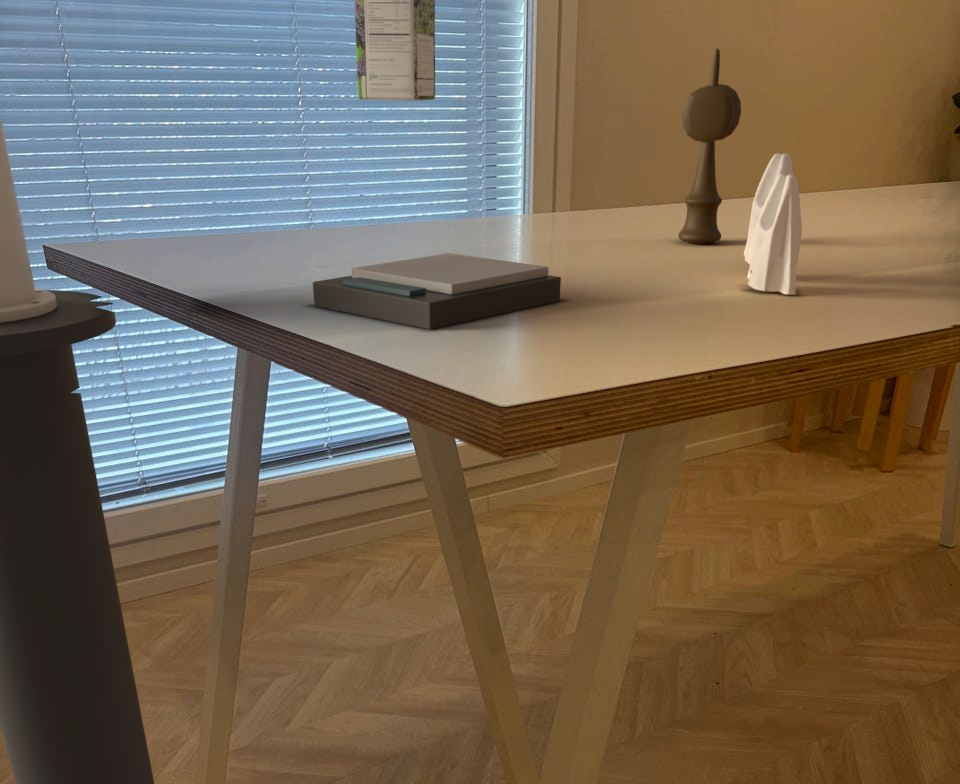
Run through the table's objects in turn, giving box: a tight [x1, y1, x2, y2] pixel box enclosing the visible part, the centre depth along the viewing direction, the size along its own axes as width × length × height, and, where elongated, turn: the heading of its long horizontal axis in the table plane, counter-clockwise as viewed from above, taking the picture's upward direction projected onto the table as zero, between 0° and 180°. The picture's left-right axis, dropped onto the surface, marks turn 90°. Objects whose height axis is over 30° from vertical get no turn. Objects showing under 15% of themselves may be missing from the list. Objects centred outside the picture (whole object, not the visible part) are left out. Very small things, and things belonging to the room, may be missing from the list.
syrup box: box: [354, 0, 436, 102], centre depth 92 cm, size 6×6×14 cm
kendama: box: [677, 48, 742, 244], centre depth 117 cm, size 6×10×20 cm, turn 163°
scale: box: [312, 252, 562, 330], centre depth 88 cm, size 16×14×3 cm
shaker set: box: [743, 152, 803, 296], centre depth 94 cm, size 12×4×11 cm, turn 171°
